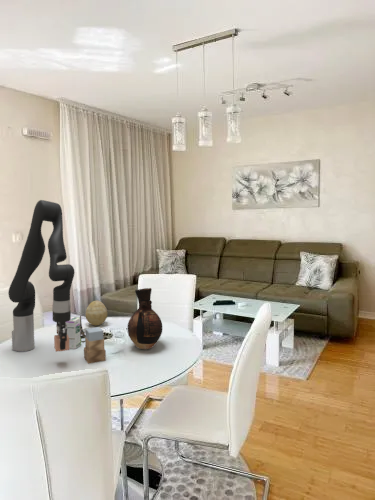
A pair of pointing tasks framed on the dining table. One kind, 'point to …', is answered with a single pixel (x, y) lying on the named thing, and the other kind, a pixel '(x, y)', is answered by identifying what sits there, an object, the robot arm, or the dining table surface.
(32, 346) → the robot arm
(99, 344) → the tower mid
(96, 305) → the fossilized egg
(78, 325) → the syrup box
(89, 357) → the tower base
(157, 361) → the dining table surface
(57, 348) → the cube
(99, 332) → the tower top
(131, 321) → the ceramic vessel
